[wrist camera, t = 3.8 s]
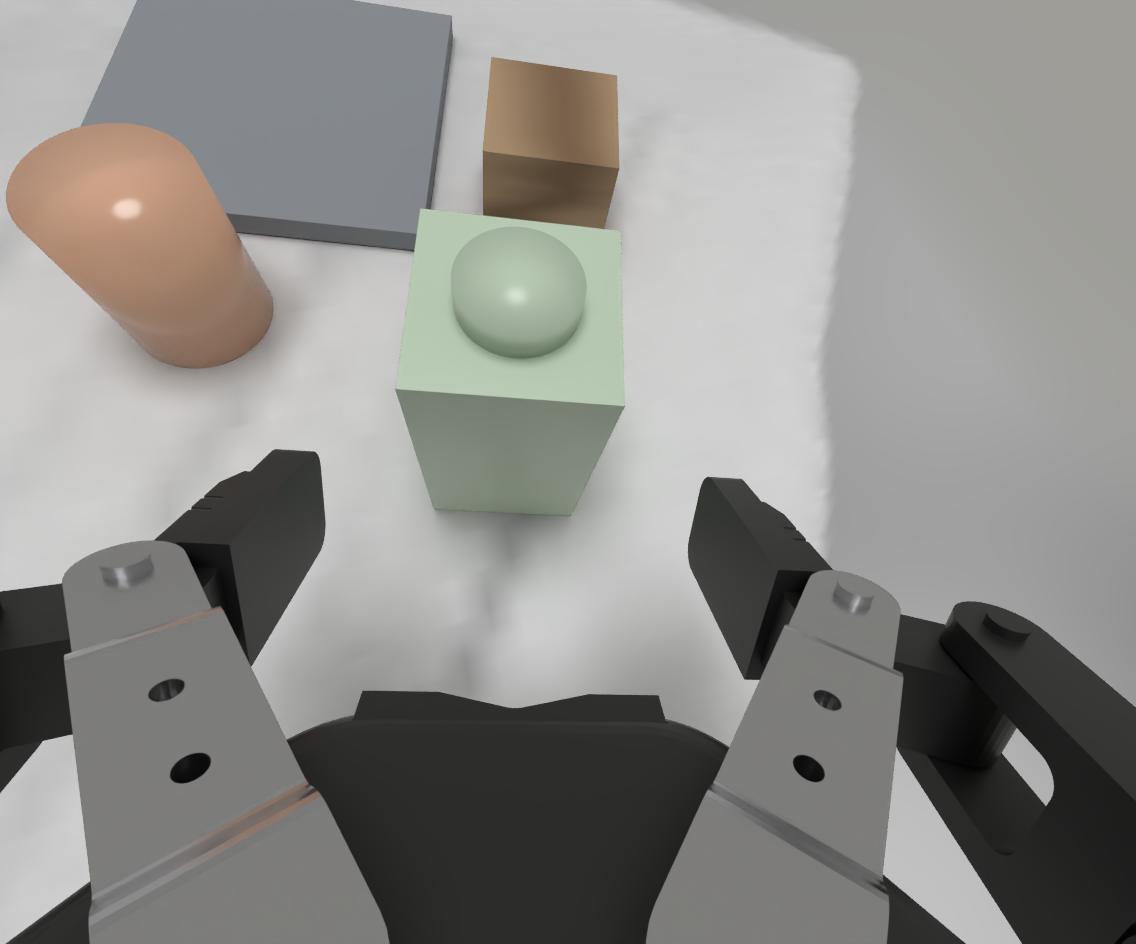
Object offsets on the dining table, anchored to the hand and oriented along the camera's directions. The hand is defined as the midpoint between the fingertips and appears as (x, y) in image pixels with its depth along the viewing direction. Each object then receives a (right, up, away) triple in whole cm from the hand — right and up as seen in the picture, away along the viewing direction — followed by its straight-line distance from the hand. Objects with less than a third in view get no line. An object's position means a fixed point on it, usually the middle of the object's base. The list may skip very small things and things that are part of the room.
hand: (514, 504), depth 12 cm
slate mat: (-12, +17, +14) cm, 25 cm away
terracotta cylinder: (-13, +7, +10) cm, 18 cm away
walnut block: (0, +13, +14) cm, 19 cm away
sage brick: (-1, +2, +10) cm, 10 cm away
